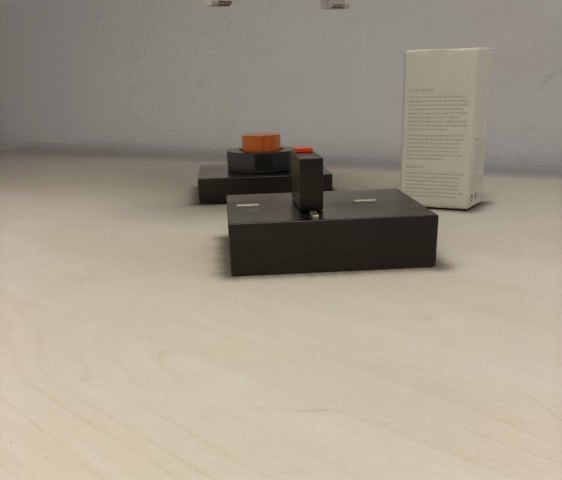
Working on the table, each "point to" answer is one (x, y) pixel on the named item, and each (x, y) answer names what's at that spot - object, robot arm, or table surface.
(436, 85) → the cosmetic box
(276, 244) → the panel
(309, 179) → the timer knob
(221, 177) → the button block
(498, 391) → the table surface
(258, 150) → the button
